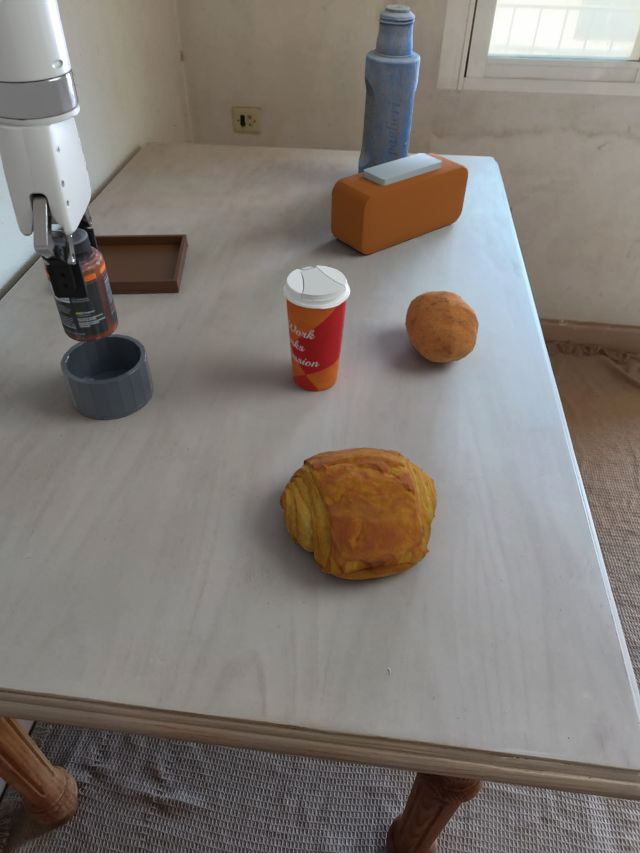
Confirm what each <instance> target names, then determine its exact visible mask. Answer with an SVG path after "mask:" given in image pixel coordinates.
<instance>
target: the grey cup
mask: <svg viewBox="0 0 640 853" xmlns="http://www.w3.org/2000/svg"><path fill="white" fill-rule="evenodd" d="M60 368H61V373H62V375H63V376H62V377H63V379H64V382H65V384H66V388H67V390H68V393H69V397H70V399H71V402H72V404H73V407H74V408H75V410H76V411H77V412H78V413H79V414H81V415H82V416H84V417H87V418H90V419H93V420H103V421H104V420H105V421H106V420H115V419H121V418H124V417H128V416H130V415H132V414H135V413H137V412H138V411H139V410H141V409H142V408H143V407H145V406H146V405H147V404H148V403H149V401H150V400H151V399H152V396H153V394H154V383H153V378H152V372H151V369H150V364H149V359H148V355H147V351H146V348H145V345H143V343H141V342H140V340H139V339H136V338H134V337H133V336H129V335H125V334H119V333H112V334H111V335H109V336H108V337H106V338H103V339H101V340H97V341H91V342H82V341H77V343H75V344H74V345H72V346H71V347H69V349H67V351H66V352H65V353H64V354H63V356H62V358H61V361H60Z"/></svg>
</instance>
